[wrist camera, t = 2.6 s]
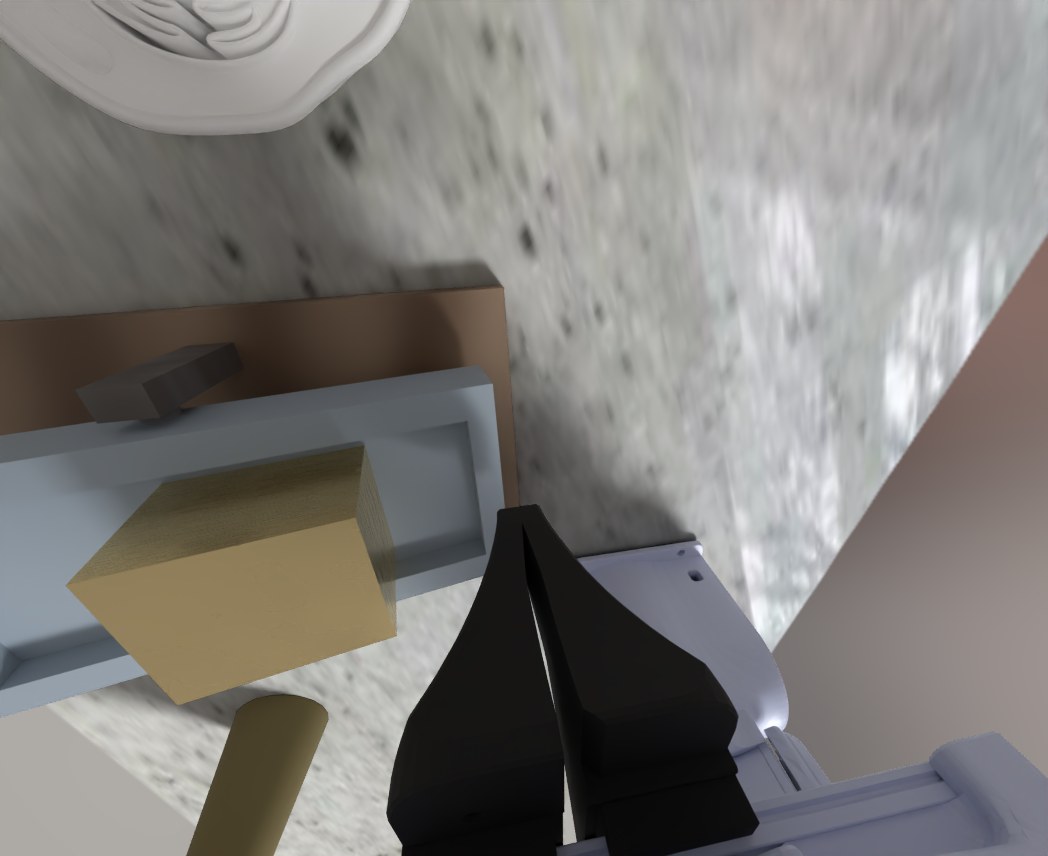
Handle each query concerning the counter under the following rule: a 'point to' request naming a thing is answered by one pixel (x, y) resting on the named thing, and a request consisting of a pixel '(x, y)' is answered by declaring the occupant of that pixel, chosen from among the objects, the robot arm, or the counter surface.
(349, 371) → the stand
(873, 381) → the counter surface
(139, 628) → the block
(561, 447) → the counter surface
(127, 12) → the cell model
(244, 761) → the cork
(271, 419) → the beam
